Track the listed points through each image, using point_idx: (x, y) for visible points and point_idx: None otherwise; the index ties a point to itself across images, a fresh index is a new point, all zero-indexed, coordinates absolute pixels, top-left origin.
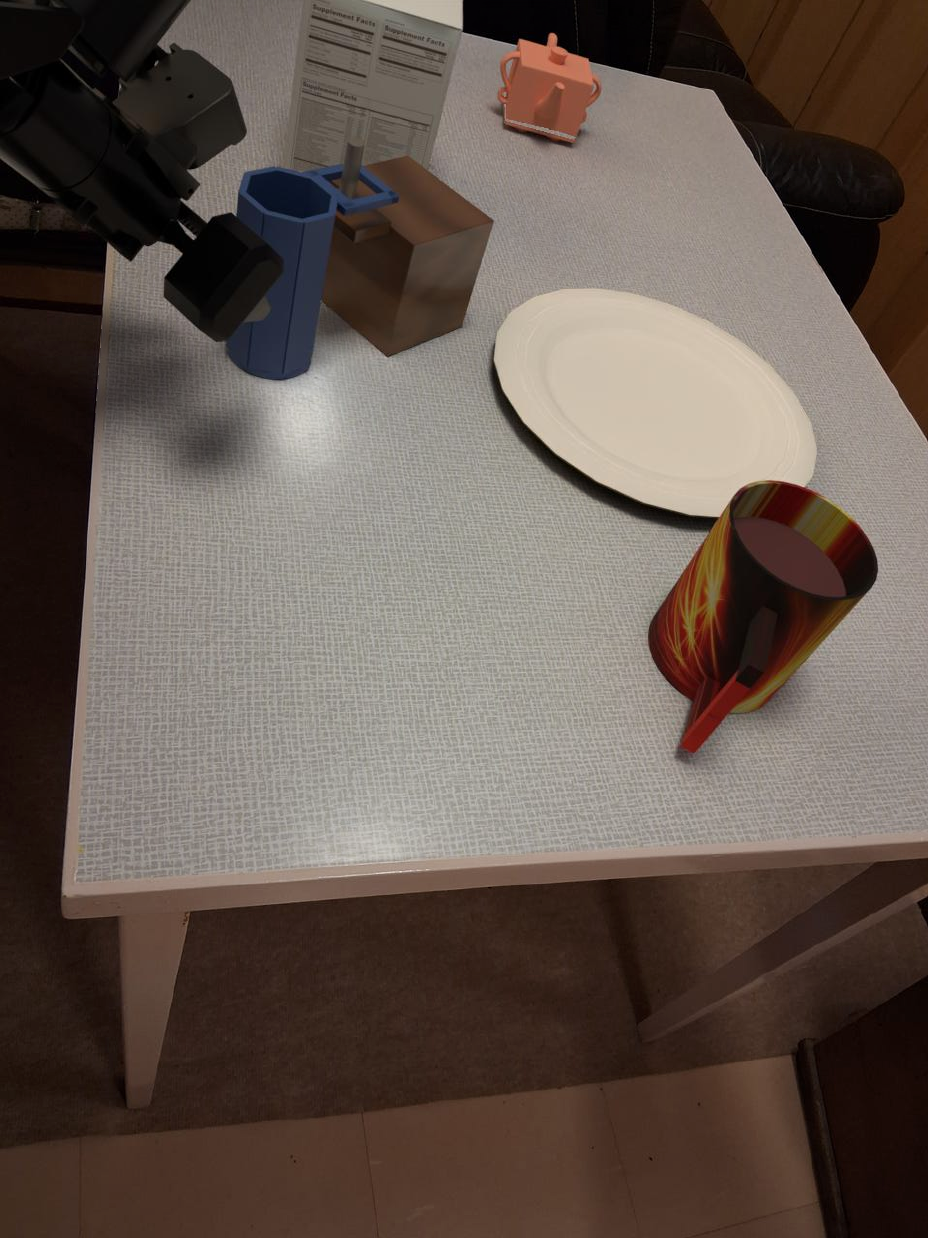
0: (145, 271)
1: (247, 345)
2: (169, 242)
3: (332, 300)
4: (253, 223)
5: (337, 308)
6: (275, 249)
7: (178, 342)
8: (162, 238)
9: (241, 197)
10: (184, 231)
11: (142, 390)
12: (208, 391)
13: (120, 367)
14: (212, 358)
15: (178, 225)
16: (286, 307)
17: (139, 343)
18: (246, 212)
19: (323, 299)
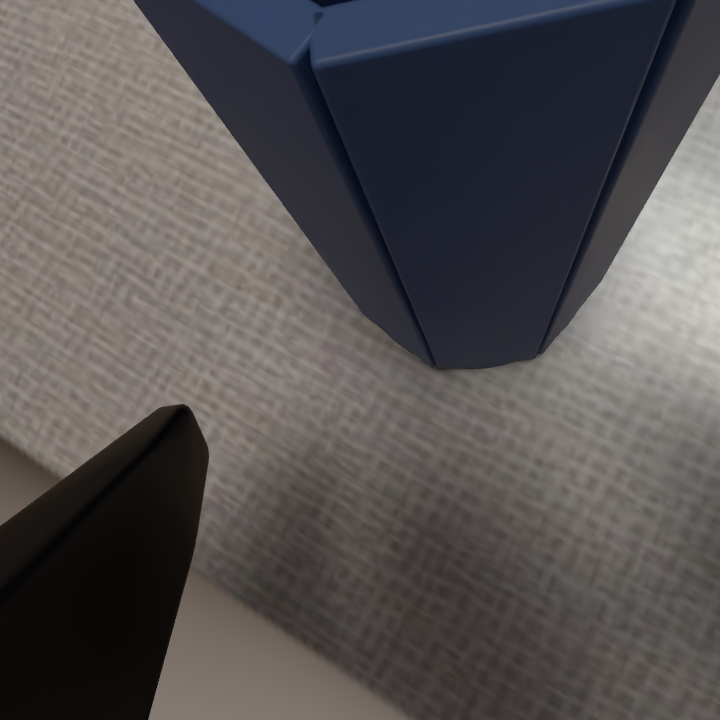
0: (73, 399)
1: (537, 342)
2: (199, 497)
3: None
4: (545, 119)
5: None
6: (685, 86)
7: (351, 466)
8: (188, 541)
9: (356, 77)
10: (178, 413)
11: (504, 673)
12: (570, 499)
13: (393, 675)
14: (442, 414)
15: (162, 449)
16: (653, 185)
17: (319, 569)
18: (450, 115)
19: None
